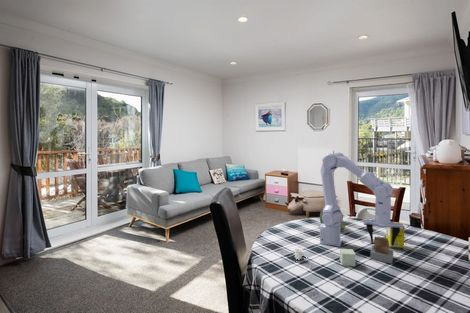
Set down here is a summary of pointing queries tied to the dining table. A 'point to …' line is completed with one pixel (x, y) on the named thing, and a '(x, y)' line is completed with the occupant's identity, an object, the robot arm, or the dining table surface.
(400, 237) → the supplement box
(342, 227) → the vegetable
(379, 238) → the walnut cube
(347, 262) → the sage cube
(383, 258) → the pedestal block
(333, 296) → the dining table surface
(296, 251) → the white lumpy piece
